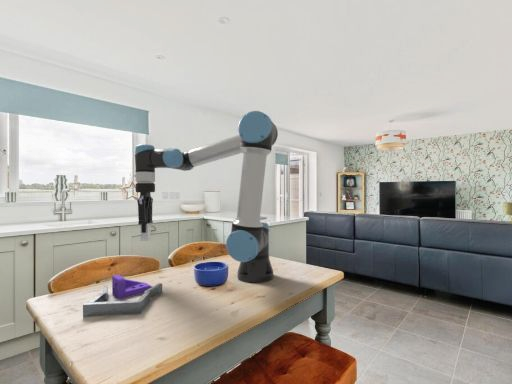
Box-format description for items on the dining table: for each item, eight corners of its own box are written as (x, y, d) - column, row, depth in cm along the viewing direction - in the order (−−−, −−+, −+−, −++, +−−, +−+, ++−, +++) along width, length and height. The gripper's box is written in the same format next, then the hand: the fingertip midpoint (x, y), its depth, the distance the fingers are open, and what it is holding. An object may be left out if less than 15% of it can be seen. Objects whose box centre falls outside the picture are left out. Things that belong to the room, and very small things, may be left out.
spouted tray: (162, 291, 101) (162, 281, 101) (147, 313, 82) (147, 301, 82) (104, 293, 99) (104, 284, 99) (75, 317, 80) (75, 305, 80)
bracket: (119, 300, 94) (119, 280, 94) (112, 295, 99) (112, 275, 99) (153, 291, 102) (153, 272, 102) (145, 286, 107) (145, 269, 107)
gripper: (142, 183, 122) (142, 236, 122) (128, 182, 106) (129, 243, 106) (159, 183, 123) (160, 236, 123) (149, 182, 107) (149, 243, 107)
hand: (145, 239), depth 115 cm, fingers open, 3 cm apart
